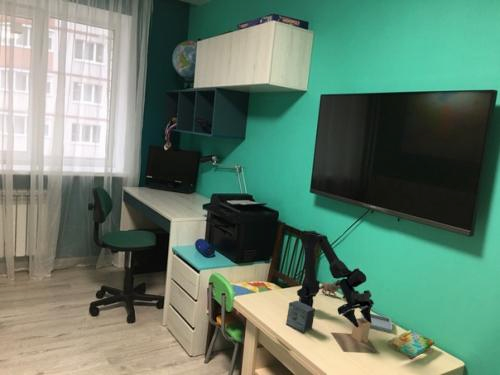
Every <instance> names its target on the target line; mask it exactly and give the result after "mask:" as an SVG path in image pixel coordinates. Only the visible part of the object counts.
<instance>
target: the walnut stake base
mask: <svg viewBox="0 0 500 375" xmlns="http://www.w3.org/2000/svg"><path fill="white" fill-rule="evenodd" d="M330 334H331V335H332V337H333V339H334V340H335V341H336V343H337V344H338V346H339V347H340V348H341V350H342V351H343V353H361V354H362V353H363V354H364V353H365V354H379V355H380V354H381V352H380V351H379V350H378V349H377V348H376V347H375V345H374V344H373V343H372V342H371V340H370V339H368V343H365V342H363V341H362V342H359V341H357V340H356V339H354V338H352V337H351V335H352V333H347V332H330Z"/></svg>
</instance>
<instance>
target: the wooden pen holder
mask: <svg viewBox="0 0 500 375" xmlns="http://www.w3.org/2000/svg"><path fill="white" fill-rule="evenodd" d="M356 319H357V322H358V325H359V327H356V326H355V325H354V324H352V329H351V334H352V335H351V337H352V338H354V339H356V340H357V341H359V342H362V341H363V342H365V343H368V340H369V334H370V329H371V328H370V324H371V323H370V322H368V321H366V320H365V319H363V318H361V317H359V318H356Z"/></svg>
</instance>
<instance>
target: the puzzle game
mask: <svg viewBox="0 0 500 375" xmlns="http://www.w3.org/2000/svg"><path fill="white" fill-rule="evenodd" d="M435 343H436V342H435V341H434V340H432V339H430V338H428V337H425V336H423V335H421V334H418V333H417V332H414V331H412V330H410V329H409V330H407V331H405V332H403V333H401V334H400V335H397V336H395V337H393V338H391V339H389V340H388V342H387V344H388V346H389V348H391V349H393V350H395V351H398V352H400V353H401V354H403V355H405V356H407V357H409V360H413V359H415V358H417V357H418V356H420V355H421V354H423V353H424V352H426V351H428V350H429V349H431V347H433V346H434V345H435Z"/></svg>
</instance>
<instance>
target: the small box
mask: <svg viewBox="0 0 500 375" xmlns="http://www.w3.org/2000/svg"><path fill="white" fill-rule="evenodd" d="M315 312H316V308H314V307H310V306H308V305H306V304H303V303H301V302H299V300H295V301H291V302H289V303H288V310H287V316H286V322H285V325H286V326H288V327H290V328H292V329H294V330H296V331H298V332H300V333H301V334H303V335H304V334H306V333H307V331H310V330H312V329H313V323H314V319H315Z"/></svg>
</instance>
